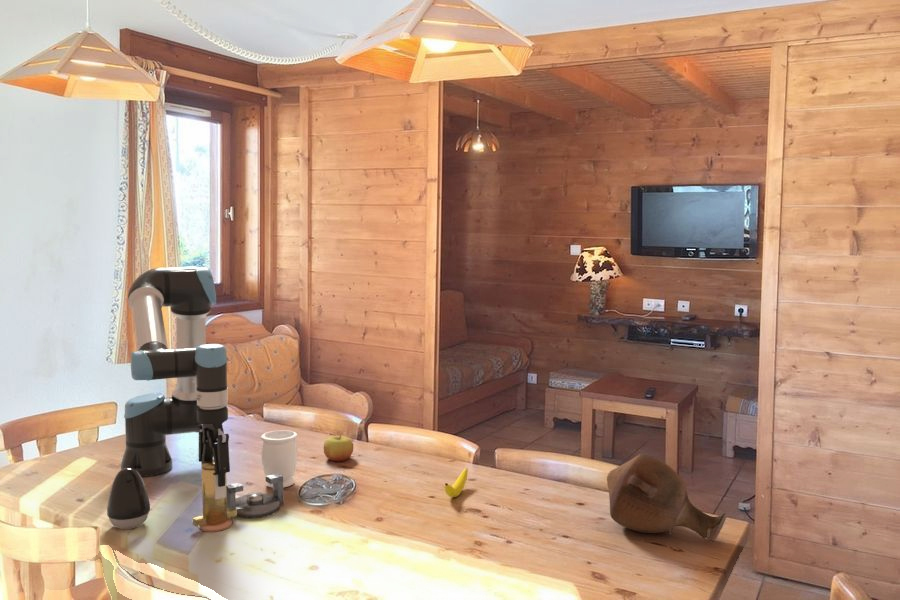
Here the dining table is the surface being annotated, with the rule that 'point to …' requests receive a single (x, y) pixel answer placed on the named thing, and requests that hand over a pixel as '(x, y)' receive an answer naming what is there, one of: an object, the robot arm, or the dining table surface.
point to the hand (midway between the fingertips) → (214, 494)
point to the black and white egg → (128, 500)
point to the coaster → (216, 526)
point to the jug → (655, 499)
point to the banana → (457, 485)
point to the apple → (338, 448)
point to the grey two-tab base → (256, 499)
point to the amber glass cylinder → (212, 499)
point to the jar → (280, 455)
